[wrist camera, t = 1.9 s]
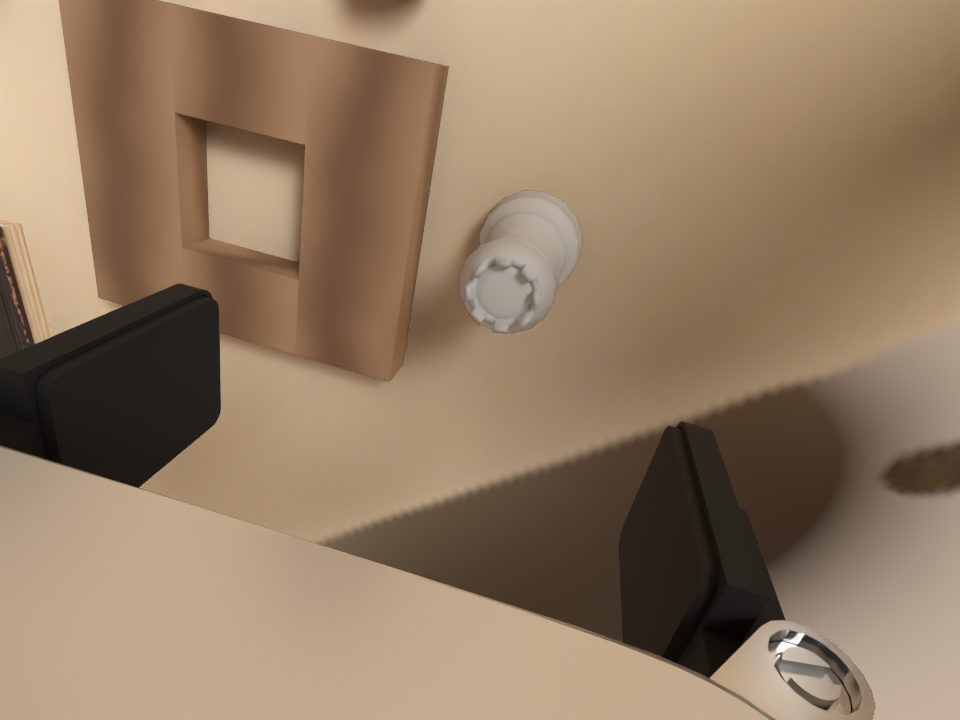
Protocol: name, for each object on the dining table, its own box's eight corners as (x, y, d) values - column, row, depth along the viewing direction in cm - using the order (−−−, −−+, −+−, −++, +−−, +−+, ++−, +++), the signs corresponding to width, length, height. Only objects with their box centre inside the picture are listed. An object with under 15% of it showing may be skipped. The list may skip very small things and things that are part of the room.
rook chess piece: (496, 176, 24) (448, 209, 17) (596, 203, 23) (591, 249, 16) (474, 272, 26) (423, 338, 19) (566, 299, 25) (549, 377, 18)
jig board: (448, 66, 22) (434, 63, 20) (402, 364, 29) (389, 382, 27) (97, -14, 24) (55, -23, 22) (128, 286, 30) (98, 297, 28)
